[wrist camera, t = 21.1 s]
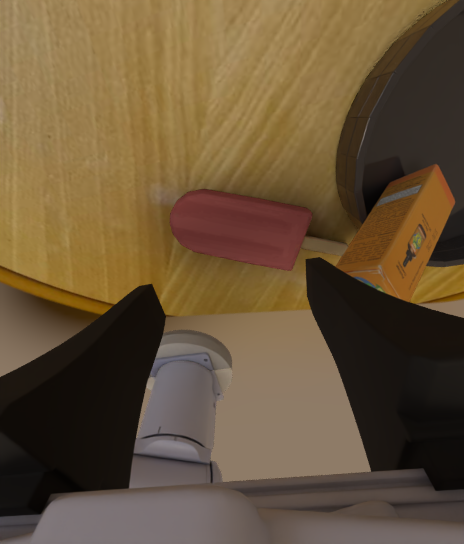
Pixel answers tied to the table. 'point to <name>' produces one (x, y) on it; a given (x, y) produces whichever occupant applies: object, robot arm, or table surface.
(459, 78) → the pan
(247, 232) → the popsicle
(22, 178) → the table surface
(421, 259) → the supplement box
